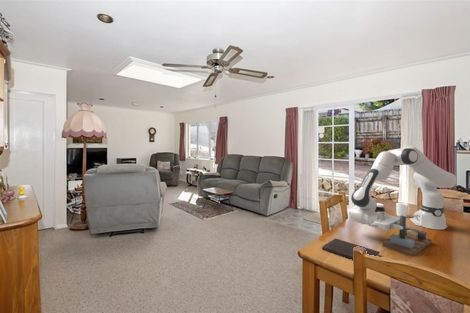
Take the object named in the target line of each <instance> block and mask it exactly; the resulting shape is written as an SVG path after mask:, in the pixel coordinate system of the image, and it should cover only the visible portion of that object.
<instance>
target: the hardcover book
mask: <svg viewBox="0 0 470 313" xmlns="http://www.w3.org/2000/svg"><path fill="white" fill-rule="evenodd" d="M356 246H360V247H363V248H365V249H366V251H367V254H369V255H374V256H378V257H379V256H380V253H381V252H380V251H379V250H375V249H373V248H368V247H365V246H361V245H359V244H355V243H352V242H348V241H345V240H341V239H337V238H333V239H331V240H330V241H329V242H327V243H326V244H324V245H322V246H321V250H323V251H324V252H325V251H326V252H327V253H331V254H334V255H336V256H339V257H342V258H344V257H345V259H347V258H348V259H347V260H350V259H352V260H351V261H353V248H354V247H356Z"/></svg>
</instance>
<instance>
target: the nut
mask: <svg viewBox="0 0 470 313" xmlns="http://www.w3.org/2000/svg"><path fill="white" fill-rule="evenodd" d="M407 238H409V239H412V240H418V232H416V231H413V230H407Z"/></svg>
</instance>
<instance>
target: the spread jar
mask: <svg viewBox="0 0 470 313" xmlns="http://www.w3.org/2000/svg"><path fill="white" fill-rule="evenodd" d="M376 203H377V207H376V210H375V212H378V213H386V214H387V211H386V208H385V206H384V204H383V203H381V202H380V203H379V202H376Z"/></svg>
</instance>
